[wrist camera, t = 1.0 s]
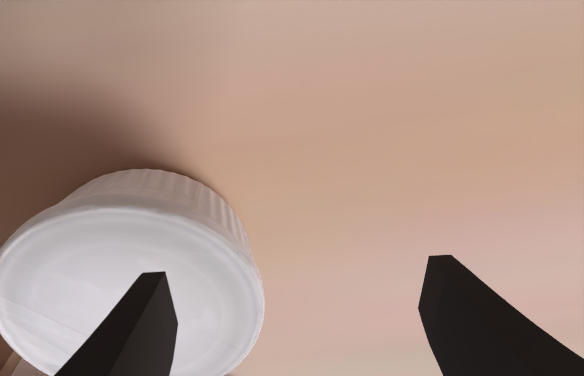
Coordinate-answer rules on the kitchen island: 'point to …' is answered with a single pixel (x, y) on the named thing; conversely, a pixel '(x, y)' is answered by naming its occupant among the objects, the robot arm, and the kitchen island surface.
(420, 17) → the kitchen island surface
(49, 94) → the kitchen island surface
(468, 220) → the kitchen island surface
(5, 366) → the dock
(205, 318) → the ramekin
